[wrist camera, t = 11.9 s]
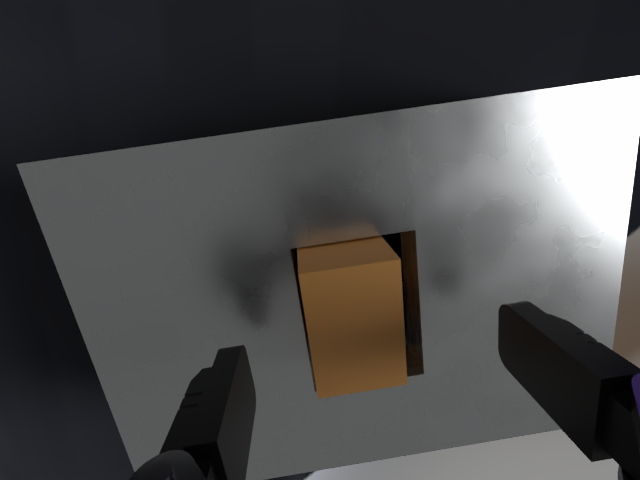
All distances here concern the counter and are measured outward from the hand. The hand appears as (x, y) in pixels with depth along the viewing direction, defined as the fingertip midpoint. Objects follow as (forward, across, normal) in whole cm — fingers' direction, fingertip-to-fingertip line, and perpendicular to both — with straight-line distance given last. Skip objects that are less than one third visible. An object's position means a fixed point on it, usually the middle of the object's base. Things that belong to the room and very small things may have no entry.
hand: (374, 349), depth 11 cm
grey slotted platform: (+10, 0, 0) cm, 10 cm away
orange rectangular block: (+10, +1, -1) cm, 10 cm away
